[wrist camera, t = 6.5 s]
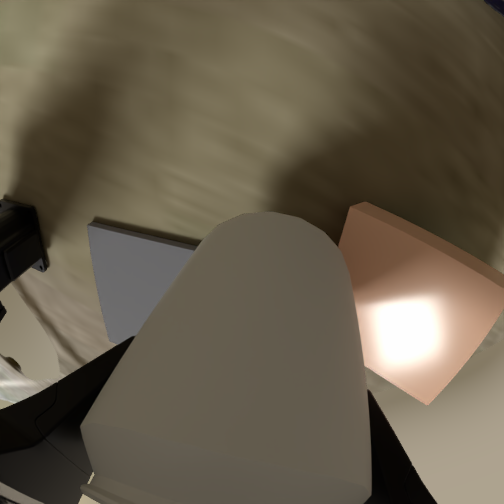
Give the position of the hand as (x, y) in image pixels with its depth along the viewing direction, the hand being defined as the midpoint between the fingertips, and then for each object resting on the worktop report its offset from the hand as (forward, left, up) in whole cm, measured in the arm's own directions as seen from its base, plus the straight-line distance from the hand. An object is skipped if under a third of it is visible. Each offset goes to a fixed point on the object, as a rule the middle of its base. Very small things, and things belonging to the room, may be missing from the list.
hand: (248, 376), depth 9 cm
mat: (-7, -7, -9) cm, 14 cm away
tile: (+4, 0, -8) cm, 9 cm away
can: (0, 0, -6) cm, 6 cm away
